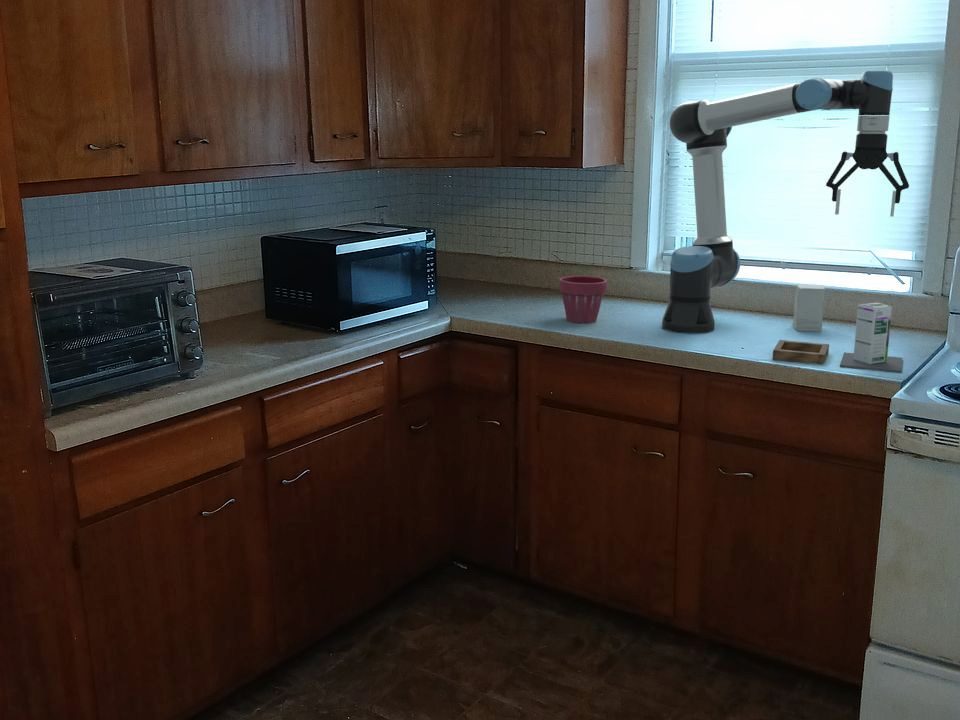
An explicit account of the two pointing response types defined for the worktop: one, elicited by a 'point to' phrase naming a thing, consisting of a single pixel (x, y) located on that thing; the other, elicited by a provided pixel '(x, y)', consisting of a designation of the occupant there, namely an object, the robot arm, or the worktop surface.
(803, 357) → the walnut collar
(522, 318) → the worktop surface
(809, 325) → the supplement box
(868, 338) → the syrup box
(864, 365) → the charcoal mat
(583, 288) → the plant pot
